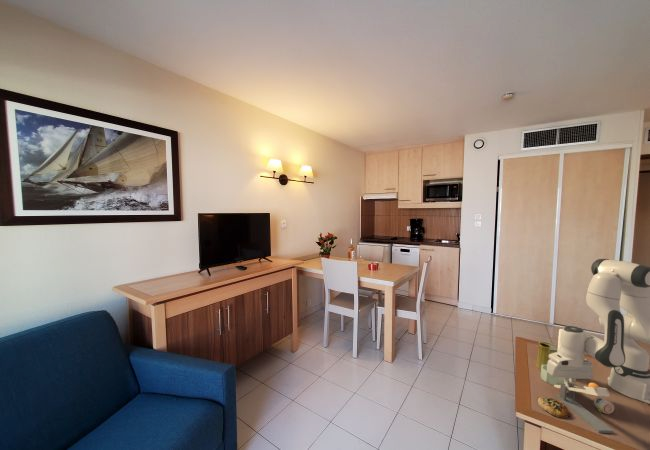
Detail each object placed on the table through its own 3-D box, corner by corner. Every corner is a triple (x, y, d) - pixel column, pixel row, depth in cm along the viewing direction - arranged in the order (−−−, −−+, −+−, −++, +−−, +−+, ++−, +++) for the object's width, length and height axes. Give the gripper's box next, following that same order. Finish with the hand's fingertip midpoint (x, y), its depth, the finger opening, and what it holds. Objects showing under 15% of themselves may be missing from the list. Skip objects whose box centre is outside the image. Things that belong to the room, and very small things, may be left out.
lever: (549, 386, 130) (547, 380, 131) (573, 387, 129) (571, 381, 131) (597, 396, 106) (594, 388, 108) (628, 397, 106) (625, 389, 107)
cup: (553, 375, 142) (554, 365, 142) (569, 387, 133) (570, 376, 132) (536, 374, 142) (536, 364, 142) (551, 386, 133) (551, 375, 132)
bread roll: (571, 410, 117) (571, 400, 116) (566, 425, 110) (566, 415, 109) (540, 397, 125) (540, 388, 125) (534, 410, 119) (534, 401, 118)
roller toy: (591, 406, 119) (592, 395, 119) (605, 407, 119) (606, 395, 119) (601, 414, 115) (602, 402, 114) (615, 415, 115) (616, 403, 114)
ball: (599, 393, 110) (592, 385, 113) (604, 389, 108) (596, 381, 111) (591, 393, 110) (584, 385, 113) (595, 389, 108) (588, 380, 111)
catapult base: (556, 396, 125) (557, 381, 125) (568, 397, 125) (569, 382, 125) (598, 432, 105) (600, 414, 105) (613, 432, 105) (615, 414, 105)
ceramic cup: (550, 367, 150) (552, 350, 149) (533, 357, 159) (534, 342, 159) (566, 364, 153) (567, 348, 152) (548, 354, 163) (549, 340, 162)
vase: (552, 372, 145) (554, 348, 144) (540, 370, 146) (541, 347, 145) (545, 365, 151) (546, 343, 150) (533, 364, 152) (535, 341, 151)
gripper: (585, 356, 130) (582, 381, 131) (545, 354, 130) (543, 379, 131) (598, 363, 124) (595, 390, 125) (556, 361, 124) (553, 388, 125)
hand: (568, 384), depth 128 cm, fingers closed
